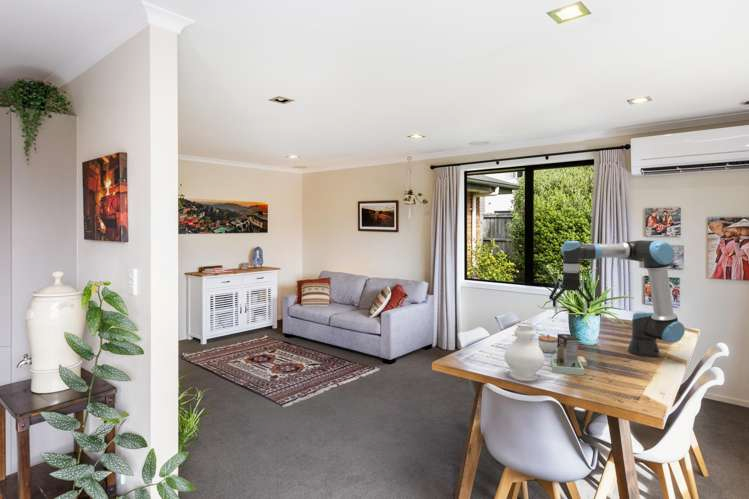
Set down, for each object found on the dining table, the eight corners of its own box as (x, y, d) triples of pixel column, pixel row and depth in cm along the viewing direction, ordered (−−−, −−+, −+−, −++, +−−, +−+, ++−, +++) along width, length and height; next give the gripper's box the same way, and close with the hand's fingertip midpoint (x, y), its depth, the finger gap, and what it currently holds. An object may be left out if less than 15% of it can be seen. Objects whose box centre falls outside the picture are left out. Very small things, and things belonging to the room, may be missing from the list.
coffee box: (556, 365, 221) (557, 333, 221) (568, 365, 222) (569, 333, 221) (564, 371, 212) (565, 338, 212) (577, 371, 213) (578, 338, 212)
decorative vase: (506, 368, 218) (507, 319, 217) (544, 373, 211) (545, 322, 210) (502, 380, 201) (503, 326, 200) (543, 385, 195) (544, 330, 193)
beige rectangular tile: (582, 361, 232) (582, 356, 232) (587, 367, 222) (587, 362, 222) (566, 360, 234) (566, 355, 234) (570, 365, 224) (570, 360, 224)
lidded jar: (559, 354, 242) (560, 337, 242) (539, 353, 244) (540, 336, 244) (555, 349, 253) (556, 333, 252) (536, 348, 255) (536, 332, 254)
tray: (579, 366, 222) (579, 360, 222) (583, 375, 208) (584, 369, 208) (550, 363, 226) (550, 357, 226) (553, 372, 212) (553, 366, 212)
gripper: (597, 271, 217) (596, 313, 219) (543, 270, 225) (543, 311, 226) (600, 273, 210) (599, 316, 211) (545, 272, 217) (544, 314, 219)
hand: (570, 314), depth 219 cm, fingers open, 13 cm apart
